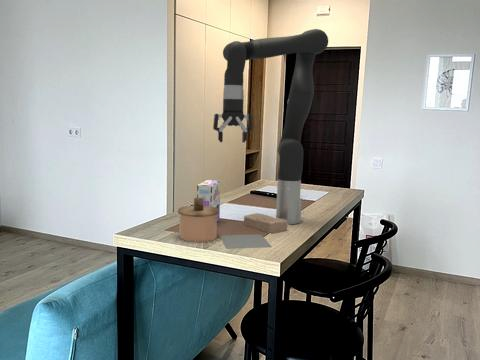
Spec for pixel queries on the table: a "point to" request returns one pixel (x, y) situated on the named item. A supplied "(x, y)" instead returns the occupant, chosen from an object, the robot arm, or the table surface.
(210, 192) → the candy box
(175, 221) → the table surface
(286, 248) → the table surface
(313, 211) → the table surface
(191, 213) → the lid
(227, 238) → the mat
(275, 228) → the brick
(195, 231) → the pot
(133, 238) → the table surface
